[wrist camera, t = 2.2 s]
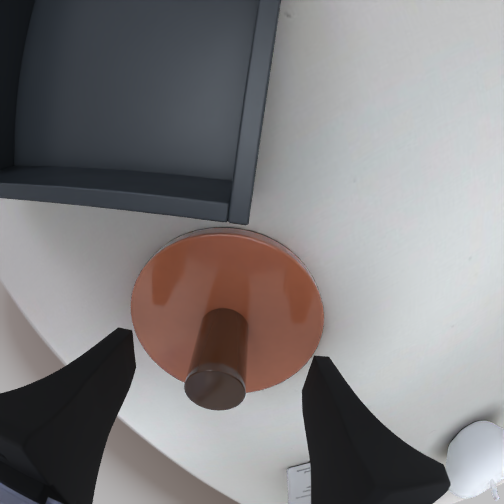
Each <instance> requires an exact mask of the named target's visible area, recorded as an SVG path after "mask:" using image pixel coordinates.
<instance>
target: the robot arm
mask: <svg viewBox="0 0 504 504" xmlns="http://www.w3.org/2000/svg"><path fill="white" fill-rule="evenodd" d="M135 369H136V362H135V353H134V344H133V333H132V330H128V329H123V328H117V329H116V330H114V331H113V332H112V333H110V334H109V335H108V336H107V337H105V338H104V339H103V340H101V341H100V342H99V343H98V344H96V345H95V346H94V347H92V348H91V349H90V350H88V351H87V352H86V353H84V354H83V355H81V356H80V357H79V358H77V359H76V360H74V361H73V362H71V363H70V364H68V365H67V366H65V367H63V368H62V369H60V370H58V371H56V372H55V373H53V374H51V375H49V376H47V377H45V378H43V379H40V380H38V381H36V382H33V383H31V384H29V385H26V386H24V387H21V388H18V389H15V390H11V391H8V392H4V393H0V504H92V502H93V496H94V490H95V485H96V480H97V475H98V471H99V467H100V463H101V459H102V455H103V451H104V448H105V445H106V442H107V438H108V435H109V433H110V430H111V428H112V426H113V423H114V421H115V419H116V417H117V415H118V412H119V410H120V408H121V406H122V404H123V402H124V399H125V397H126V395H127V393H128V391H129V388H130V385H131V382H132V379H133V376H134V373H135ZM302 409H303V418H304V425H305V431H306V437H307V443H308V450H309V456H310V466H311V504H433V503H434V502H435V501H437V500H438V499H439V498H440V497H441V496H443V495H444V494H445V493H446V492H447V491H448V489H449V487H450V486H451V483H450V480H449V477H448V475H447V472H446V469H445V467H444V465H443V464H441V463H439V462H437V461H435V460H433V459H432V458H430V457H428V456H426V455H424V454H422V453H421V452H419V451H417V450H416V449H414V448H413V447H411V446H410V445H408V444H407V443H405V442H404V441H403V440H401V439H400V438H399V437H397V436H396V435H395V434H394V433H392V432H391V431H390V430H389V429H388V428H387V427H385V426H384V425H383V424H382V423H381V422H380V421H379V420H378V419H377V418H376V417H375V416H374V415H373V414H372V413H371V412H370V411H369V410H368V408H367V407H366V406H365V405H364V404H363V403H362V402H361V400H360V399H359V398H358V397H357V395H356V394H355V393H354V391H353V390H352V389H351V388H350V386H349V385H348V384H347V382H346V381H345V379H344V378H343V377H342V375H341V374H340V372H339V371H338V369H337V368H336V366H335V365H334V364H333V362H332V361H331V359H330V358H329V357H325V356H314V357H313V360H312V363H311V366H310V369H309V372H308V375H307V378H306V381H305V384H304V387H303V389H302Z"/></svg>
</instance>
